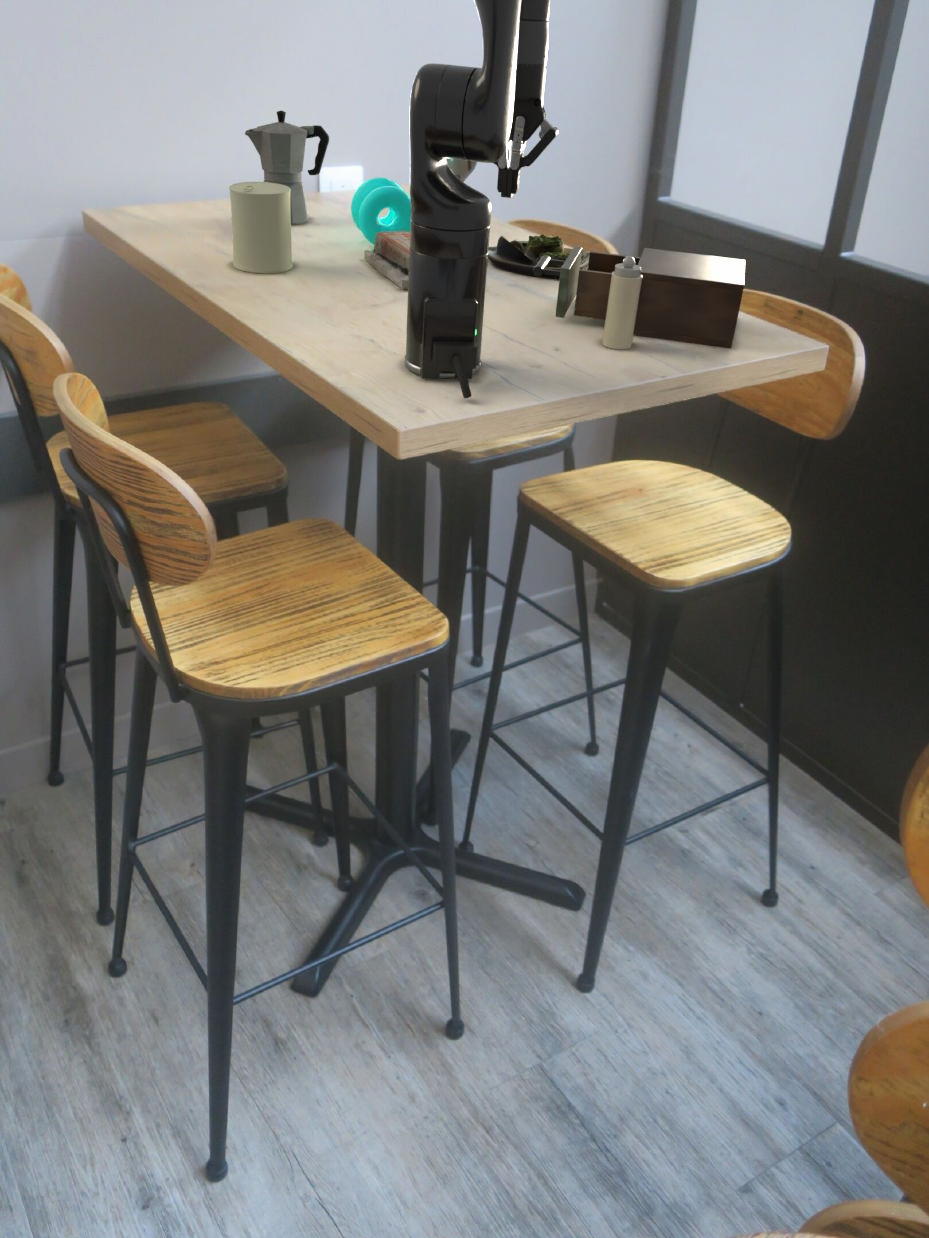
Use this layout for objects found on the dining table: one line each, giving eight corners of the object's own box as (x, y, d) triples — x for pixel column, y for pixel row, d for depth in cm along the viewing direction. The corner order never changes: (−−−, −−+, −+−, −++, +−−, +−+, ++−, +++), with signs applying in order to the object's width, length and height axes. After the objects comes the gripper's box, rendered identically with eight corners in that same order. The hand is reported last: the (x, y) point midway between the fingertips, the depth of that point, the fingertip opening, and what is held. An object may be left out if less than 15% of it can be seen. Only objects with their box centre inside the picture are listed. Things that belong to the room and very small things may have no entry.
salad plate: (516, 243, 187) (519, 216, 185) (609, 260, 181) (613, 232, 178) (467, 264, 172) (469, 235, 170) (566, 283, 166) (570, 254, 164)
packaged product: (362, 229, 168) (420, 227, 171) (362, 260, 170) (418, 258, 174) (402, 258, 154) (464, 255, 158) (401, 291, 157) (462, 288, 160)
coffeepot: (257, 227, 185) (253, 115, 175) (241, 215, 192) (235, 106, 182) (338, 223, 191) (338, 115, 182) (320, 211, 198) (319, 107, 188)
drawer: (525, 313, 148) (530, 264, 145) (541, 289, 159) (546, 243, 156) (650, 329, 145) (658, 280, 142) (657, 304, 157) (665, 257, 153)
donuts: (360, 250, 175) (360, 187, 170) (349, 236, 183) (349, 175, 178) (417, 250, 178) (420, 188, 172) (405, 236, 186) (407, 176, 180)
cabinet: (625, 334, 146) (635, 271, 141) (635, 306, 158) (644, 247, 153) (731, 348, 144) (744, 285, 139) (733, 319, 156) (745, 259, 151)
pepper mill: (635, 350, 140) (649, 260, 134) (606, 349, 140) (618, 259, 133) (627, 340, 144) (640, 253, 137) (598, 339, 143) (611, 252, 137)
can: (220, 266, 162) (215, 184, 155) (257, 255, 169) (254, 175, 162) (269, 277, 158) (266, 193, 152) (304, 265, 165) (303, 184, 159)
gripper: (463, 55, 136) (455, 196, 145) (563, 65, 134) (549, 207, 143) (476, 51, 142) (467, 186, 151) (572, 60, 140) (557, 197, 149)
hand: (507, 196), depth 147 cm, fingers closed
